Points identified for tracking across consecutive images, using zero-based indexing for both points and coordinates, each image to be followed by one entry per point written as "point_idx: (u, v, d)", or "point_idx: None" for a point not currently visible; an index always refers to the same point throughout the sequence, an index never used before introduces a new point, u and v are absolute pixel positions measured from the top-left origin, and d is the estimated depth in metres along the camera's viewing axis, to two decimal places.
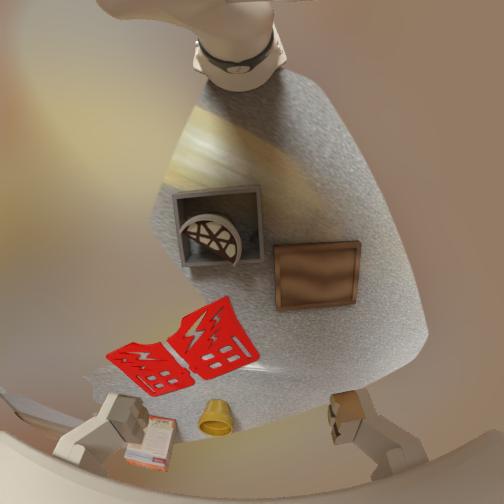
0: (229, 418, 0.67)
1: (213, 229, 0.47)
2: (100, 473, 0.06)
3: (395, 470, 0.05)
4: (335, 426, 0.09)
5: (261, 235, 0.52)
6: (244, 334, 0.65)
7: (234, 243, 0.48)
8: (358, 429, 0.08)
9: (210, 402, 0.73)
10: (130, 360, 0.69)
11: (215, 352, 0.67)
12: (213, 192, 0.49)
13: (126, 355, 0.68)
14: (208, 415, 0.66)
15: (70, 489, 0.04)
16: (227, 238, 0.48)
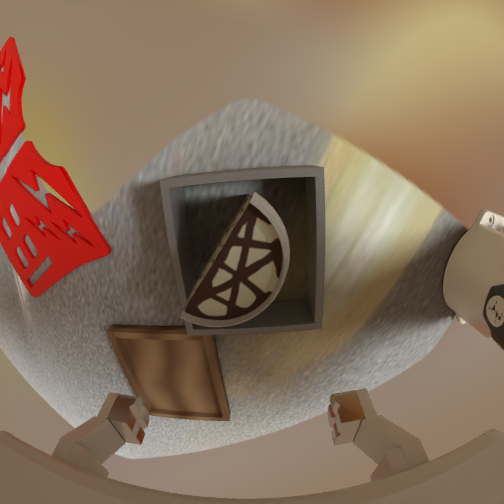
0: None
1: (259, 276, 0.22)
2: (100, 473, 0.06)
3: (395, 470, 0.05)
4: (335, 426, 0.09)
5: (237, 332, 0.28)
6: (57, 278, 0.32)
7: (228, 315, 0.23)
8: (358, 429, 0.08)
9: None
10: (1, 79, 0.21)
11: (22, 229, 0.29)
12: (322, 253, 0.25)
13: (7, 71, 0.20)
14: None
15: (70, 489, 0.04)
16: (239, 302, 0.22)
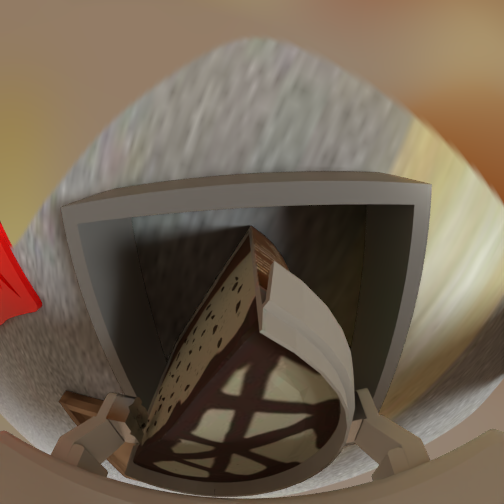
0: None
1: (276, 448, 0.07)
2: (99, 473, 0.06)
3: (397, 470, 0.05)
4: None
5: None
6: None
7: (213, 478, 0.09)
8: (359, 429, 0.08)
9: None
10: None
11: None
12: (396, 355, 0.11)
13: None
14: None
15: (70, 489, 0.04)
16: (231, 470, 0.08)
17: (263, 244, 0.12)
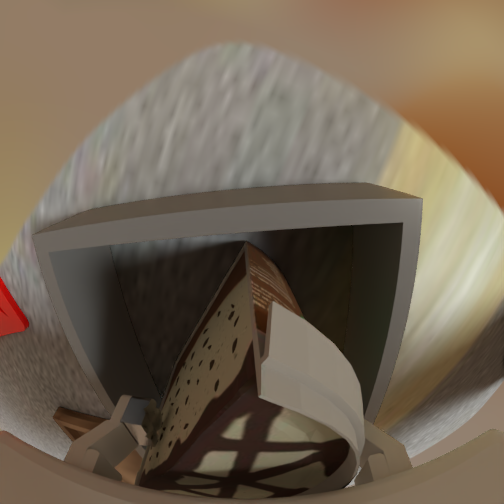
0: None
1: (283, 478, 0.06)
2: (114, 477, 0.06)
3: (376, 476, 0.05)
4: None
5: None
6: None
7: None
8: None
9: None
10: None
11: None
12: (386, 378, 0.10)
13: None
14: None
15: (70, 489, 0.04)
16: (239, 497, 0.07)
17: (260, 263, 0.11)
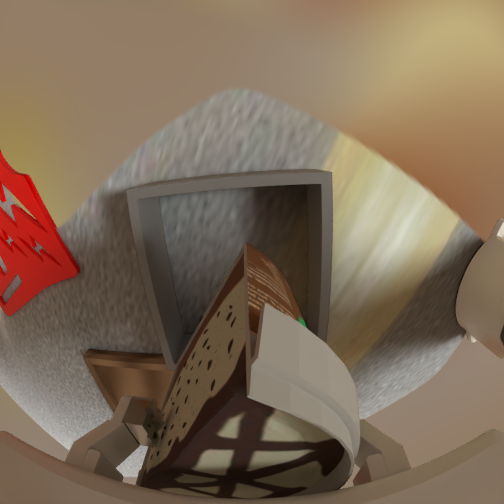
0: None
1: (280, 477, 0.07)
2: (115, 478, 0.06)
3: (374, 476, 0.05)
4: None
5: None
6: (28, 298, 0.26)
7: None
8: None
9: None
10: None
11: None
12: (328, 279, 0.20)
13: None
14: None
15: (70, 489, 0.04)
16: (238, 495, 0.08)
17: (259, 265, 0.11)
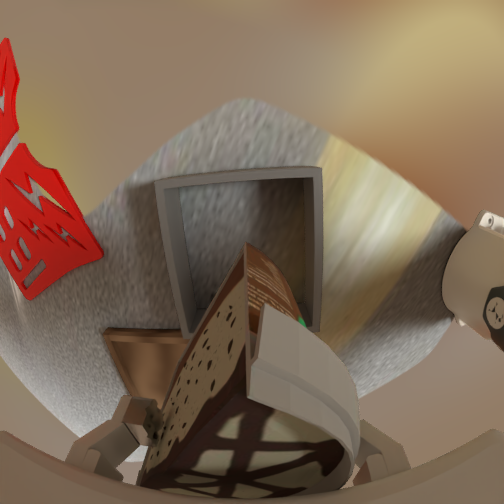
0: None
1: (280, 478, 0.07)
2: (115, 478, 0.06)
3: (374, 476, 0.05)
4: None
5: None
6: (51, 281, 0.31)
7: None
8: None
9: None
10: None
11: (16, 232, 0.28)
12: (320, 256, 0.25)
13: (2, 72, 0.19)
14: None
15: (70, 489, 0.04)
16: (238, 495, 0.07)
17: (258, 265, 0.11)
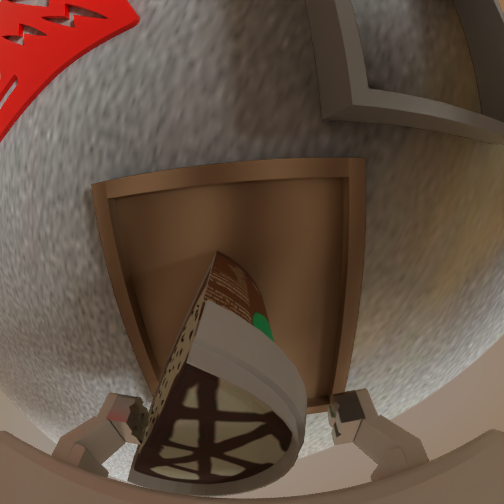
0: None
1: (245, 451, 0.08)
2: (100, 473, 0.06)
3: (395, 470, 0.05)
4: (335, 426, 0.09)
5: (453, 114, 0.09)
6: (16, 109, 0.12)
7: (203, 480, 0.10)
8: (359, 429, 0.08)
9: None
10: None
11: None
12: None
13: None
14: None
15: (70, 489, 0.04)
16: (216, 472, 0.09)
17: (223, 270, 0.13)
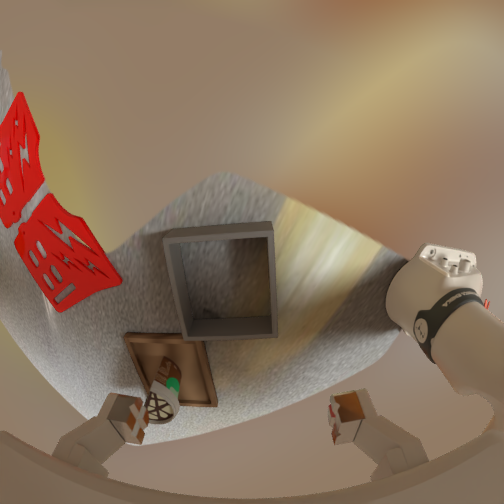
0: None
1: (165, 409, 0.40)
2: (100, 473, 0.06)
3: (395, 470, 0.05)
4: (335, 426, 0.09)
5: (218, 338, 0.40)
6: (80, 299, 0.43)
7: (159, 419, 0.41)
8: (358, 429, 0.08)
9: None
10: (16, 133, 0.32)
11: (49, 261, 0.41)
12: (274, 287, 0.37)
13: (22, 126, 0.32)
14: None
15: (70, 489, 0.04)
16: (161, 416, 0.41)
17: (163, 365, 0.44)
